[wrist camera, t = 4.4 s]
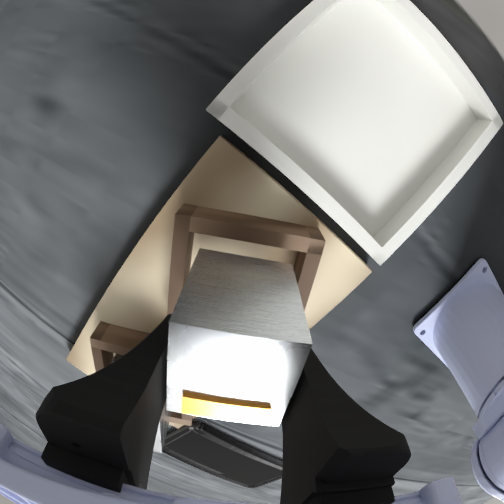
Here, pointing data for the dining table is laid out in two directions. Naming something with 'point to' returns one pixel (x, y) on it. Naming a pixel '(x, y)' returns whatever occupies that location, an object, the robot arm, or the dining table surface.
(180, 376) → the loose billet
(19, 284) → the dining table surface
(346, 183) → the white square tray
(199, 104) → the dining table surface
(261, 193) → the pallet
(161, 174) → the dining table surface
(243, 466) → the phone
